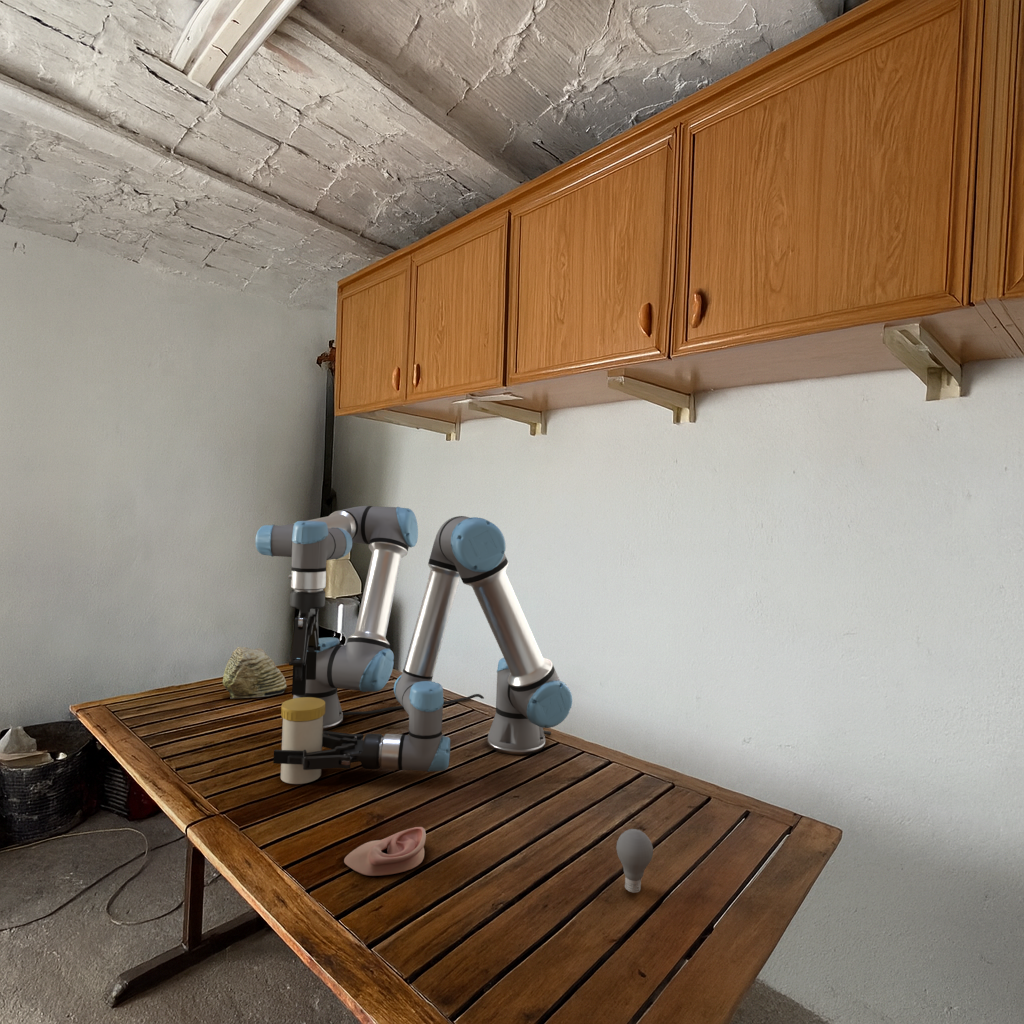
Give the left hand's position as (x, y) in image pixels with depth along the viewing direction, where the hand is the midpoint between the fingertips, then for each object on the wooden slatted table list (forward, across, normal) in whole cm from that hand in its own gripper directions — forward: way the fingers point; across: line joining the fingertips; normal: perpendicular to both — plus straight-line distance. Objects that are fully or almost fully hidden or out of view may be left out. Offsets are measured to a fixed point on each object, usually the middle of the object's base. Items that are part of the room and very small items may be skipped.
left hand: (304, 686), depth 143 cm
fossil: (+20, -58, -26) cm, 67 cm away
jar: (+20, 0, 0) cm, 20 cm away
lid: (+4, 0, 0) cm, 4 cm away
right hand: (+14, 0, -5) cm, 15 cm away
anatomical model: (+20, +34, +22) cm, 45 cm away
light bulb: (+20, +45, +63) cm, 80 cm away
